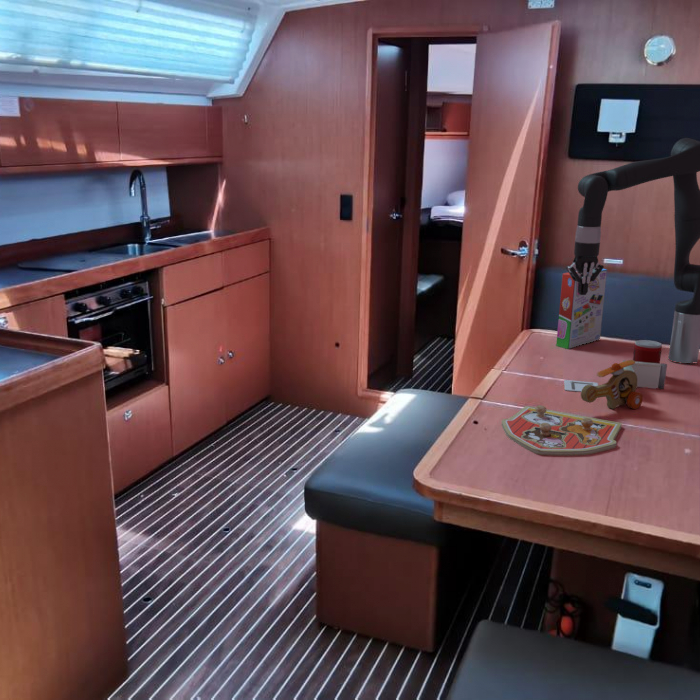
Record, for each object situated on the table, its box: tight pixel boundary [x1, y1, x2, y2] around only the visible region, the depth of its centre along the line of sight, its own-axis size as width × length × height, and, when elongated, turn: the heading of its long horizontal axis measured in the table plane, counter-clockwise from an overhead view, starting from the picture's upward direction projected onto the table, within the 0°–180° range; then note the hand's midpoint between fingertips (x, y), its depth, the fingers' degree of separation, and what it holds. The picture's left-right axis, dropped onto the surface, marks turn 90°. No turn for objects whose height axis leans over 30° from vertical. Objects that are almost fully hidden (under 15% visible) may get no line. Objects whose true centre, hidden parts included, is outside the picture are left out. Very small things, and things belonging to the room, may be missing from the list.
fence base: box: [622, 359, 668, 390], centre depth 225 cm, size 2×13×8 cm, turn 76°
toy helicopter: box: [580, 359, 644, 410], centre depth 204 cm, size 8×21×14 cm, turn 120°
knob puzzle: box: [501, 404, 623, 457], centre depth 187 cm, size 29×30×4 cm
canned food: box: [632, 339, 663, 364], centre depth 235 cm, size 8×8×11 cm
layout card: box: [563, 379, 599, 393], centre depth 224 cm, size 10×10×1 cm
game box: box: [555, 268, 608, 350], centre depth 270 cm, size 21×6×27 cm, turn 130°
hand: (582, 294), depth 236 cm, fingers closed
